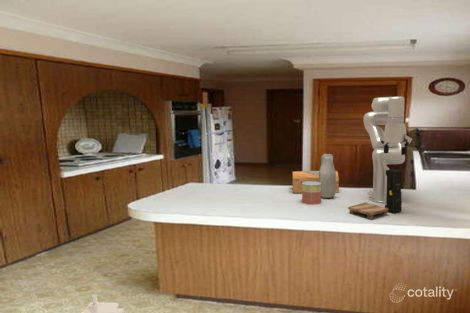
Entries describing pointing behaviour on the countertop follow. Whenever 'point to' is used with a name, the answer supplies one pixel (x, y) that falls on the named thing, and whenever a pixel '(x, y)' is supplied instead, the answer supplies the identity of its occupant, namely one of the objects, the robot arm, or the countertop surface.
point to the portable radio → (393, 190)
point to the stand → (368, 209)
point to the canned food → (311, 192)
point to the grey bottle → (327, 176)
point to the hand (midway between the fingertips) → (394, 153)
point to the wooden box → (308, 179)
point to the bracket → (102, 307)
